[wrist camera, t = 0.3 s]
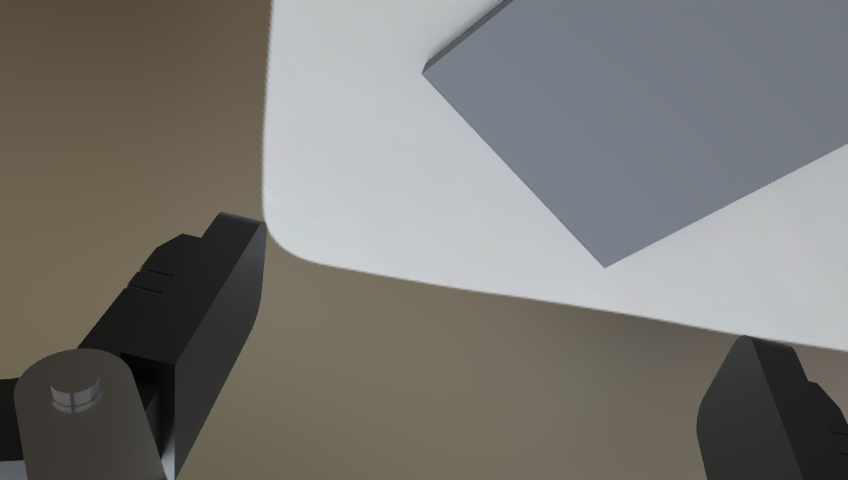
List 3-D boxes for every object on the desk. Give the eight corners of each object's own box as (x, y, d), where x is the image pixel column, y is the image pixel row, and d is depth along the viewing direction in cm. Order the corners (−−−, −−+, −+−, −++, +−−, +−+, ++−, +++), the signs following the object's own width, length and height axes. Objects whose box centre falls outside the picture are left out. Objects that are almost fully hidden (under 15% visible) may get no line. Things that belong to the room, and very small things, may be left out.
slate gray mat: (815, -250, 25) (822, -246, 24) (983, 57, 30) (993, 68, 29) (425, 64, 34) (421, 74, 34) (604, 255, 39) (604, 268, 39)
